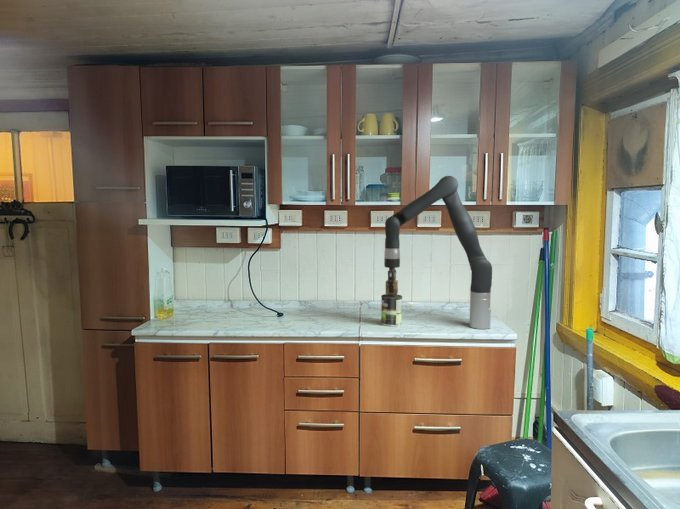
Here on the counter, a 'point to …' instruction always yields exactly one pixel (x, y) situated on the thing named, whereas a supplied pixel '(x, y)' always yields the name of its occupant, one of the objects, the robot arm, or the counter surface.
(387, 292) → the walnut block
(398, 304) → the coffee can
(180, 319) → the counter surface
